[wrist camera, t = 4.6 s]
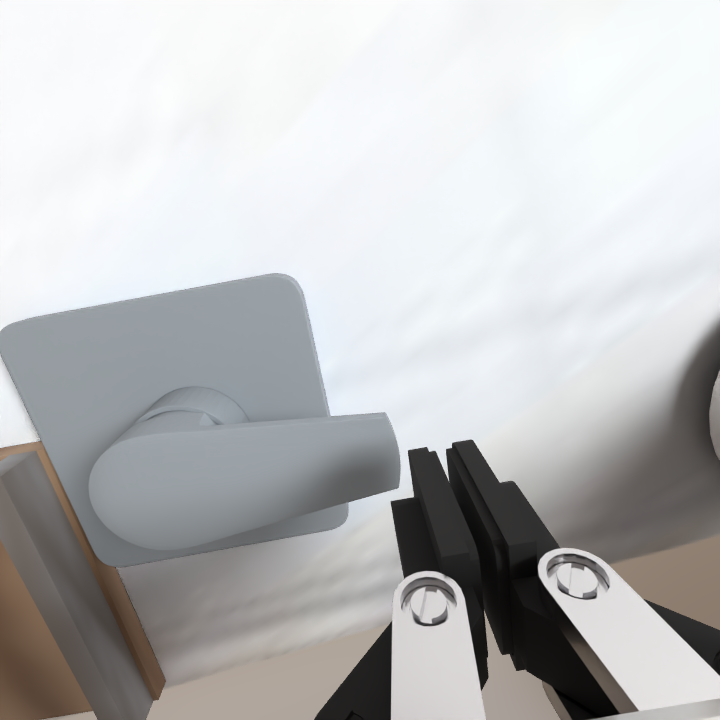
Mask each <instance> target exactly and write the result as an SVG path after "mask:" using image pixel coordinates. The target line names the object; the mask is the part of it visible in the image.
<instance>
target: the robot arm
mask: <svg viewBox="0 0 720 720" xmlns="http://www.w3.org/2000/svg"><path fill="white" fill-rule="evenodd" d="M709 419H710V436H711V439H712V442H713V446H714V449H715V453H716V455H717V457H718V458H719V460H720V371H719V373H718V376H717V379H716V382H715V385H714V387H713V392H712V399H711V405H710V411H709ZM408 456H409V463H410V470H411V477H412V484H413V491H414V497H413V498H407V499H401V500H395V501H391V507H392V513H393V519H394V525H395V531H396V537H397V542H398V548H399V553H400V559H401V564H402V570H403V575H404V580H403V581H402V582H401V583H400V584H399V585H398V587H397V588H396V590H395V592H394V596H393V601H392V622H391V623H390V624H389V625H388V627H387V628H386V629H385V630H384V632H383V633H382V634H381V636H380V637H379V638H378V639H377V640H376V642H375V643H374V644H373V646H372V647H371V648H370V649H369V650H368V652H367V653H366V654H365V655H364V657H363V658H362V659H361V660H360V662H359V663H358V664H357V665H356V667H355V668H354V669H353V670H352V672H351V673H350V674H349V675H348V677H347V678H346V679H345V680H344V682H343V683H342V684H341V685H340V687H339V688H338V689H337V690H336V692H335V693H334V694H333V695H332V697H331V698H330V699H329V700H328V702H327V703H326V704H325V705H324V707H323V708H322V709H321V710H320V712H319V713H318V714H317V716H316V717H315V719H314V720H486V717H485V711H484V705H483V700H482V694H481V691H482V689H483V687H484V685H485V683H486V681H487V679H488V667H487V657H488V650H487V639H486V628H485V617H484V610H485V613H486V616H487V618H488V621H489V624H490V626H491V629H492V631H493V634H494V637H495V639H496V642H497V645H498V647H499V650H500V652H501V654H502V655H506V654H510V656H511V659H512V661H513V664H514V666H515V668H516V671H519V670H527V672H529V673H531V674H532V675H534V676H536V677H537V678H539V679H541V680H542V683H543V688H544V690H545V692H546V695H547V697H548V699H549V700H550V702H551V704H552V705H553V707H554V709H555V711H556V713H557V714H558V716H559V718H560V719H561V720H720V630H718V629H715V628H713V627H711V626H708V625H706V624H703V623H701V622H698V621H696V620H693V619H691V618H689V617H686V616H683V615H681V614H679V613H676V612H674V611H671V610H669V609H667V608H664V607H662V606H659V605H657V604H654V603H652V602H650V601H647V600H645V599H642V598H641V597H640V596H639V595H638V594H637V593H636V592H635V591H634V590H633V589H632V588H631V587H630V586H629V585H628V584H627V583H626V582H625V581H624V580H623V579H622V578H621V577H620V576H619V575H618V574H617V573H616V572H615V571H614V570H613V569H612V568H611V567H610V566H609V565H608V564H607V563H605V562H604V561H603V560H602V559H600V558H599V557H597V556H595V555H593V554H591V553H589V552H586V551H583V550H579V549H574V548H560V547H559V546H558V544H557V543H556V541H555V540H554V538H553V537H552V535H551V534H550V532H549V531H548V530H547V528H546V527H545V525H544V524H543V522H542V521H541V519H540V518H539V517H538V515H537V514H536V512H535V511H534V509H533V508H532V506H531V505H530V504H529V502H528V501H527V499H526V498H525V496H524V495H523V493H522V492H521V491H520V489H519V488H518V486H517V485H516V484H515V483H514V482H513V481H508V482H502V483H499V481H498V479H497V478H496V476H495V475H494V473H493V471H492V470H491V468H490V467H489V465H488V463H487V462H486V460H485V459H484V457H483V456H482V454H481V452H480V451H479V449H478V448H477V446H476V444H475V443H474V441H473V440H466V441H460V442H454V443H452V448H449V449H446V456H447V465H448V474H449V481H448V479H447V477H446V474H445V472H444V470H443V467H442V465H441V463H440V460H439V458H438V456H437V453H436V451H432V452H429V451H428V448H427V447H424V448H419V449H413V450H408Z"/></svg>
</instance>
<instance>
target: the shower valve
mask: <svg viewBox="0 0 720 720" xmlns="http://www.w3.org/2000/svg"><path fill="white" fill-rule="evenodd" d="M0 354H1V356H2V359H3V361H4V363H5V365H6V367H7V369H8V371H9V373H10V376H11V378H12V380H13V382H14V384H15V386H16V388H17V390H18V392H19V395H20V397H21V399H22V401H23V403H24V405H25V407H26V409H27V412H28V414H29V416H30V418H31V420H32V422H33V424H34V426H35V428H36V431H37V433H38V435H39V437H40V439H41V441H42V443H43V445H44V447H45V450H46V452H47V454H48V456H49V458H50V460H51V462H52V464H53V467H54V469H55V471H56V473H57V475H58V477H59V479H60V481H61V483H62V486H63V488H64V490H65V492H66V494H67V496H68V498H69V500H70V503H71V505H72V507H73V509H74V511H75V513H76V515H77V517H78V519H79V522H80V524H81V526H82V528H83V530H84V532H85V534H86V536H87V539H88V541H89V543H90V545H91V547H92V549H93V551H94V553H95V555H96V556H97V557H98V559H99V560H100V561H102V562H103V563H104V564H106V565H108V566H112V567H127V566H133V565H138V564H144V563H150V562H155V561H161V560H166V559H172V558H177V557H183V556H189V555H194V554H200V553H205V552H211V551H216V550H222V549H228V548H233V547H239V546H244V545H250V544H255V543H261V542H267V541H272V540H278V539H283V538H289V537H294V536H300V535H306V534H311V533H317V532H322V531H328V530H332V529H335V528H337V527H339V526H341V525H342V524H343V523H344V522H345V521H346V519H347V516H348V502H351V501H355V500H358V499H362V498H365V497H369V496H372V495H376V494H379V493H383V492H386V491H390V490H393V489H397V488H399V482H400V454H399V448H398V444H397V440H396V437H395V433H394V430H393V428H392V425H391V423H390V421H389V419H388V417H387V415H386V413H385V412H384V413H370V414H357V415H344V416H330V412H329V407H328V403H327V398H326V393H325V389H324V384H323V380H322V375H321V371H320V366H319V361H318V357H317V352H316V348H315V343H314V338H313V334H312V329H311V325H310V320H309V315H308V311H307V306H306V302H305V297H304V294H303V291H302V289H301V287H300V285H299V284H298V283H297V281H296V280H295V279H294V278H292V277H290V276H288V275H285V274H278V273H273V274H267V275H261V276H256V277H250V278H245V279H239V280H234V281H228V282H223V283H218V284H212V285H207V286H201V287H196V288H190V289H185V290H179V291H174V292H169V293H163V294H158V295H152V296H147V297H141V298H136V299H130V300H125V301H120V302H114V303H109V304H103V305H98V306H92V307H87V308H81V309H76V310H71V311H65V312H60V313H54V314H49V315H43V316H38V317H33V318H29V319H25V320H22V321H18V322H15V323H12V324H10V325H8V326H6V327H5V328H3V329H2V330H1V331H0Z"/></svg>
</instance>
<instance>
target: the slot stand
mask: <svg viewBox="0 0 720 720" xmlns="http://www.w3.org/2000/svg"><path fill="white" fill-rule="evenodd" d="M165 682H166V680H165V678H164V676H163V673H162V671H161V669H160V667H159V664H158V662H157V660H156V658H155V655H154V653H153V651H152V649H151V646H150V644H149V642H148V640H147V637H146V635H145V633H144V631H143V628H142V626H141V624H140V622H139V619H138V617H137V615H136V613H135V610H134V608H133V606H132V604H131V601H130V599H129V597H128V595H127V592H126V590H125V588H124V586H123V583H122V581H121V579H120V577H119V574H118V572H117V570H116V568H115V567H112V566H108V565H106V564H104V563H103V562H102V561H100V560H99V559H98V557H97V556H96V555H95V553H94V551H93V549H92V547H91V545H90V543H89V541H88V539H87V536H86V534H85V532H84V530H83V528H82V526H81V524H80V522H79V519H78V517H77V515H76V513H75V511H74V509H73V507H72V505H71V503H70V500H69V498H68V496H67V494H66V492H65V490H64V488H63V486H62V483H61V481H60V479H59V477H58V475H57V473H56V471H55V469H54V467H53V464H52V462H51V460H50V458H49V456H48V454H47V452H46V450H45V447H44V445H43V443H42V441H39V442H33V443H27V444H21V445H16V446H10V447H4V448H0V720H41V719H47V718H53V717H59V716H65V715H70V714H76V713H82V712H88V711H94V713H95V715H96V717H97V719H98V720H146V718H147V715H148V713H149V710H150V708H151V705H152V703H153V701H154V700H159V697H160V695H161V692H162V690H163V687H164V684H165Z"/></svg>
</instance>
